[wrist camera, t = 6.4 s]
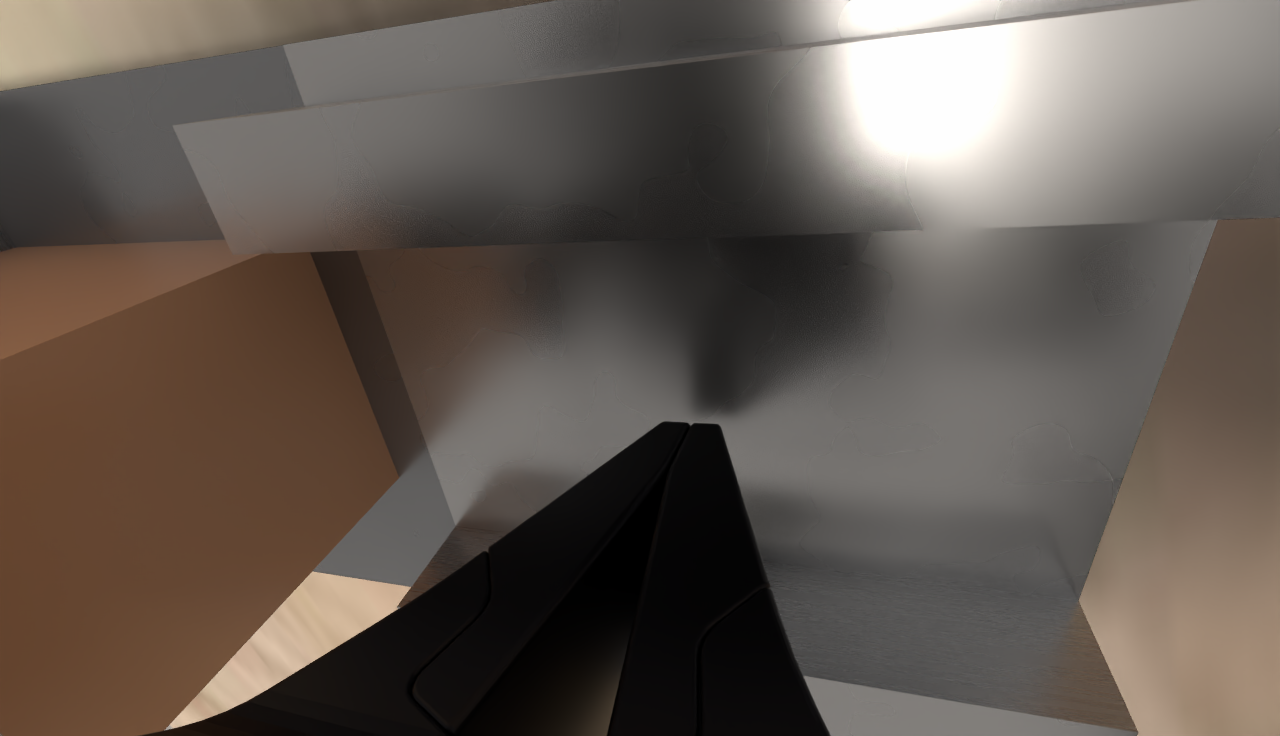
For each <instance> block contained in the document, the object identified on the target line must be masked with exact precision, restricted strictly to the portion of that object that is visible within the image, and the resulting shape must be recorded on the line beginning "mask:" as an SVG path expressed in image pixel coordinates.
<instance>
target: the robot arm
mask: <svg viewBox="0 0 1280 736" xmlns="http://www.w3.org/2000/svg"><path fill="white" fill-rule="evenodd" d="M138 736H831V735H830V733H829V731H828V729H827V727H826V725H825V723H824V721H823V719H822V716H821V714H820V712H819V710H818V708H817V706H816V704H815V702H814V699H813V697H812V695H811V693H810V690H809V688H808V686H807V683H806V681H805V679H804V677H803V674H802V672H801V670H800V667H799V665H798V663H797V661H796V658H795V656H794V653H793V650H792V647H791V645H790V642H789V639H788V636H787V633H786V631H785V628H784V625H783V622H782V619H781V617H780V614H779V610H778V607H777V604H776V601H775V598H774V594H773V591H772V590H771V586H770V583H769V579H768V576H767V573H766V570H765V567H764V563H763V560H762V557H761V554H760V550H759V547H758V544H757V541H756V538H755V534H754V531H753V528H752V525H751V522H750V518H749V515H748V512H747V509H746V506H745V502H744V499H743V496H742V493H741V489H740V486H739V483H738V480H737V477H736V473H735V470H734V467H733V464H732V461H731V457H730V454H729V451H728V448H727V445H726V441H725V438H724V435H723V432H722V429H721V427H720V425H718V424H710V423H693V424H692V425H691V426H690V424H689V423H687V422H671V421H664V422H661V423H659V424H658V425H657V426H655V427H654V428H653V429H651V430H650V431H648V432H647V433H646V434H644V435H643V436H641V437H640V438H639V439H637V440H636V441H635V442H633V443H632V444H630V445H629V446H628V447H626V448H625V449H624V450H622V451H621V452H619V453H618V454H617V455H615V456H614V457H612V458H611V459H610V460H608V461H607V462H606V463H604V464H603V465H601V466H600V467H599V468H597V469H596V470H595V471H593V472H592V473H590V474H589V475H588V476H586V477H585V478H583V479H582V480H581V481H579V482H578V483H577V484H575V485H574V486H572V487H571V488H570V489H568V490H567V491H565V492H564V493H563V494H561V495H560V496H559V497H557V498H556V499H554V500H553V501H552V502H550V503H549V504H548V505H546V506H545V507H543V508H542V509H541V510H539V511H538V512H536V513H535V514H534V515H532V516H531V517H530V518H528V519H527V520H525V521H524V522H523V523H521V524H520V525H519V526H517V527H516V528H514V529H513V530H512V531H510V532H509V533H507V534H506V535H505V536H503V537H502V538H501V539H499V540H498V541H496V542H495V543H494V544H492V545H491V546H490V547H489V548H488V552H487V551H482V552H481V553H480V554H478V555H477V556H475V557H474V558H473V559H471V560H470V561H468V562H467V563H466V564H464V565H463V566H462V567H460V568H459V569H457V570H456V571H454V572H453V573H452V574H450V575H449V576H447V577H446V578H444V579H443V580H441V581H440V582H439V583H437V584H436V585H434V586H433V587H431V588H430V589H428V590H427V591H426V592H424V593H423V594H421V595H419V596H418V597H416V598H415V599H413V600H412V601H410V602H409V603H407V604H405V605H404V606H402V607H401V608H399V609H398V610H396V611H394V612H393V613H391V614H390V615H388V616H387V617H385V618H383V619H382V620H380V621H379V622H377V623H375V624H374V625H372V626H371V627H369V628H367V629H366V630H364V631H362V632H361V633H359V634H358V635H356V636H354V637H353V638H351V639H349V640H348V641H346V642H344V643H343V644H341V645H340V646H338V647H336V648H335V649H333V650H331V651H330V652H328V653H327V654H325V655H323V656H322V657H320V658H318V659H317V660H315V661H313V662H312V663H310V664H309V665H307V666H305V667H304V668H302V669H300V670H299V671H297V672H296V673H294V674H292V675H291V676H289V677H287V678H286V679H284V680H283V681H281V682H279V683H278V684H276V685H274V686H273V687H271V688H269V689H268V690H266V691H264V692H263V693H261V694H259V695H257V696H255V697H254V698H252V699H250V700H248V701H247V702H244V703H242V704H240V705H238V706H236V707H234V708H232V709H230V710H228V711H226V712H223V713H221V714H218V715H215V716H213V717H210V718H207V719H205V720H202V721H199V722H195V723H192V724H189V725H185V726H182V727H178V728H174V729H169V730H165V731H160V732H154V733H149V734H144V735H138Z"/></svg>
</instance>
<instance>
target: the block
mask: <svg viewBox="0 0 1280 736" xmlns="http://www.w3.org/2000/svg"><path fill="white" fill-rule="evenodd" d="M398 479H399V476H398V474H397V471H396V469H395V466H394V463H393V461H392V458H391V456H390V453H389V451H388V448H387V446H386V443H385V441H384V438H383V436H382V433H381V431H380V428H379V425H378V423H377V420H376V418H375V415H374V413H373V410H372V408H371V405H370V403H369V400H368V398H367V395H366V393H365V390H364V387H363V385H362V382H361V380H360V377H359V375H358V372H357V370H356V367H355V365H354V362H353V360H352V357H351V355H350V352H349V349H348V347H347V344H346V342H345V339H344V337H343V334H342V332H341V329H340V327H339V324H338V322H337V319H336V317H335V314H334V311H333V309H332V306H331V304H330V301H329V299H328V296H327V294H326V291H325V289H324V286H323V284H322V281H321V279H320V276H319V274H318V271H317V268H316V266H315V263H314V261H313V258H312V256H311V253H310V252H296V253H268V254H240V255H232V252H231V250H230V248H229V246H228V244H227V242H226V240H201V241H174V242H147V243H121V244H94V245H67V246H41V247H17V248H13V249H9V250H6V251H2V252H0V736H138V735H144V734H149V733H154V732H160V731H164V730H165V729H166V727H168V726H169V725H170V723H171V722H172V721H173V720H174V719H175V718H176V717H177V716H178V715H179V714H180V713H181V712H182V711H183V710H184V708H185V707H186V706H187V705H188V704H189V703H190V702H191V701H192V700H193V699H194V698H195V697H196V696H197V694H198V693H199V692H200V691H201V690H202V689H203V688H204V687H205V686H206V685H207V684H208V683H209V682H210V681H211V679H212V678H213V677H214V676H215V675H216V674H217V673H218V672H219V671H220V670H221V669H222V668H223V667H224V665H225V664H226V663H227V662H228V661H229V660H230V659H231V658H232V657H233V656H234V655H235V654H236V653H237V651H238V650H239V649H240V648H241V647H242V646H243V645H244V644H245V643H246V642H247V641H248V640H249V639H250V638H251V636H252V635H253V634H254V633H255V632H256V631H257V630H258V629H259V628H260V627H261V626H262V625H263V624H264V622H265V621H266V620H267V619H268V618H269V617H270V616H271V615H272V614H273V613H274V612H275V611H276V610H277V609H278V607H279V606H280V605H281V604H282V603H283V602H284V601H285V600H286V599H287V598H288V597H289V596H290V595H291V593H292V592H293V591H294V590H295V589H296V588H297V587H298V586H299V585H300V584H301V583H302V582H303V581H304V580H305V578H306V577H307V576H308V575H309V574H310V573H311V572H312V571H313V570H314V569H315V568H316V567H317V566H318V564H319V563H320V562H321V561H322V560H323V559H324V558H325V557H326V556H327V555H328V554H329V553H330V552H331V551H332V549H333V548H334V547H335V546H336V545H337V544H338V543H339V542H340V541H341V540H342V539H343V538H344V537H345V535H346V534H347V533H348V532H349V531H350V530H351V529H352V528H353V527H354V526H355V525H356V524H357V523H358V521H359V520H360V519H361V518H362V517H363V516H364V515H365V514H366V513H367V512H368V511H369V510H370V509H371V508H372V506H373V505H374V504H375V503H376V502H377V501H378V500H379V499H380V498H381V497H382V496H383V495H384V494H385V492H386V491H387V490H388V489H389V488H390V487H391V486H392V485H393V484H394V483H395V482H396V481H397V480H398Z"/></svg>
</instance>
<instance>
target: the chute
mask: <svg viewBox="0 0 1280 736" xmlns="http://www.w3.org/2000/svg"><path fill="white" fill-rule="evenodd" d="M1253 218H1280V0H555V1H549V2H543V3H537V4H531V5H525V6H518V7H512V8H506V9H500V10H494V11H488V12H482V13H476V14H469V15H463V16H457V17H451V18H445V19H439V20H433V21H427V22H420V23H414V24H408V25H402V26H396V27H390V28H384V29H378V30H371V31H365V32H359V33H353V34H347V35H341V36H335V37H329V38H322V39H316V40H310V41H304V42H298V43H292V44H286V45H282V46H276V47H270V48H263V49H257V50H251V51H245V52H239V53H233V54H227V55H221V56H214V57H208V58H202V59H196V60H190V61H184V62H178V63H171V64H165V65H159V66H153V67H147V68H141V69H135V70H129V71H122V72H116V73H110V74H104V75H98V76H92V77H86V78H79V79H73V80H67V81H61V82H55V83H49V84H43V85H37V86H30V87H24V88H18V89H12V90H6V91H0V252H2V251H6V250H9V249H13V248H17V247H41V246H67V245H94V244H121V243H147V242H174V241H201V240H226V242H227V244H228V246H229V248H230V250H231V252H232V255H240V254H268V253H296V252H310V253H311V256H312V258H313V261H314V263H315V266H316V268H317V271H318V274H319V276H320V279H321V281H322V284H323V286H324V289H325V291H326V294H327V296H328V299H329V301H330V304H331V306H332V309H333V311H334V314H335V317H336V319H337V322H338V324H339V327H340V329H341V332H342V334H343V337H344V339H345V342H346V344H347V347H348V349H349V352H350V355H351V357H352V360H353V362H354V365H355V367H356V370H357V372H358V375H359V377H360V380H361V382H362V385H363V387H364V390H365V393H366V395H367V398H368V400H369V403H370V405H371V408H372V410H373V413H374V415H375V418H376V420H377V423H378V425H379V428H380V431H381V433H382V436H383V438H384V441H385V443H386V446H387V448H388V451H389V453H390V456H391V458H392V461H393V463H394V466H395V469H396V471H397V474H398V476H399V479H398V480H397V481H396V482H395V483H394V484H393V485H392V486H391V487H390V488H389V489H388V490H387V491H386V492H385V494H384V495H383V496H382V497H381V498H380V499H379V500H378V501H377V502H376V503H375V504H374V505H373V506H372V508H371V509H370V510H369V511H368V512H367V513H366V514H365V515H364V516H363V517H362V518H361V519H360V520H359V521H358V523H357V524H356V525H355V526H354V527H353V528H352V529H351V530H350V531H349V532H348V533H347V534H346V535H345V537H344V538H343V539H342V540H341V541H340V542H339V543H338V544H337V545H336V546H335V547H334V548H333V549H332V551H331V552H330V553H329V554H328V555H327V556H326V557H325V558H324V559H323V560H322V561H321V562H320V563H319V564H318V566H317V567H316V568H315V569H314V570H313V571H314V572H320V573H326V574H333V575H339V576H345V577H352V578H358V579H365V580H371V581H377V582H384V583H390V584H396V585H403V586H409V587H411V588H410V590H409V591H408V592H407V594H406V595H405V597H404V598H403V599H402V601H401V602H400V603H399V605H398V606H397V608H398V609H399V608H401V607H402V606H404V605H405V604H407V603H409V602H410V601H412V600H413V599H415V598H416V597H418V596H419V595H421V594H423V593H424V592H426V591H427V590H428V589H430V588H431V587H433V586H434V585H436V584H437V583H439V582H440V581H441V580H443V579H444V578H446V577H447V576H449V575H450V574H452V573H453V572H454V571H456V570H457V569H459V568H460V567H462V566H463V565H464V564H466V563H467V562H468V561H470V560H471V559H473V558H474V557H475V556H477V555H478V554H480V553H481V552H482V551H487V552H488V548H489V547H490V546H491V545H492V544H494V543H495V542H496V541H498V540H499V539H501V538H502V537H503V536H505V535H506V534H507V533H509V532H510V531H512V530H513V529H514V528H516V527H517V526H519V525H520V524H521V523H523V522H524V521H525V520H527V519H528V518H530V517H531V516H532V515H534V514H535V513H536V512H538V511H539V510H541V509H542V508H543V507H545V506H546V505H548V504H549V503H550V502H552V501H553V500H554V499H556V498H557V497H559V496H560V495H561V494H563V493H564V492H565V491H567V490H568V489H570V488H571V487H572V486H574V485H575V484H577V483H578V482H579V481H581V480H582V479H583V478H585V477H586V476H588V475H589V474H590V473H592V472H593V471H595V470H596V469H597V468H599V467H600V466H601V465H603V464H604V463H606V462H607V461H608V460H610V459H611V458H612V457H614V456H615V455H617V454H618V453H619V452H621V451H622V450H624V449H625V448H626V447H628V446H629V445H630V444H632V443H633V442H635V441H636V440H637V439H639V438H640V437H641V436H643V435H644V434H646V433H647V432H648V431H650V430H651V429H653V428H654V427H655V426H657V425H658V424H659V423H661V422H664V421H671V422H687V423H689V424H690V426H691V425H692V424H693V423H710V424H718V425H720V427H721V429H722V432H723V435H724V438H725V441H726V445H727V448H728V451H729V454H730V457H731V461H732V464H733V467H734V470H735V473H736V477H737V480H738V483H739V486H740V489H741V493H742V496H743V499H744V502H745V506H746V509H747V512H748V515H749V518H750V522H751V525H752V528H753V531H754V534H755V538H756V541H757V544H758V547H759V550H760V554H761V557H762V560H763V563H764V567H765V570H766V573H767V576H768V579H769V583H770V586H771V590H772V591H773V594H774V598H775V601H776V604H777V607H778V610H779V614H780V617H781V619H782V622H783V625H784V628H785V631H786V633H787V636H788V639H789V642H790V645H791V647H792V650H793V653H794V656H795V658H796V661H797V663H798V665H799V667H800V670H801V672H802V674H803V677H804V679H805V681H806V683H807V686H808V688H809V690H810V693H811V695H812V697H813V699H814V702H815V704H816V706H817V708H818V710H819V712H820V714H821V716H822V719H823V721H824V723H825V725H826V727H827V729H828V731H829V733H830V735H831V736H1137V735H1138V731H1137V728H1136V726H1135V724H1134V722H1133V720H1132V717H1131V715H1130V713H1129V711H1128V709H1127V706H1126V704H1125V702H1124V700H1123V698H1122V695H1121V693H1120V691H1119V689H1118V687H1117V684H1116V682H1115V680H1114V678H1113V676H1112V673H1111V671H1110V669H1109V667H1108V665H1107V663H1106V660H1105V658H1104V656H1103V654H1102V652H1101V649H1100V647H1099V645H1098V643H1097V641H1096V638H1095V636H1094V634H1093V632H1092V630H1091V627H1090V625H1089V623H1088V621H1087V619H1086V616H1085V614H1084V612H1083V610H1082V608H1081V605H1080V603H1079V601H1078V600H1079V597H1080V595H1081V592H1082V589H1083V586H1084V584H1085V581H1086V578H1087V575H1088V573H1089V570H1090V567H1091V565H1092V562H1093V559H1094V556H1095V554H1096V551H1097V548H1098V545H1099V543H1100V540H1101V537H1102V535H1103V532H1104V529H1105V526H1106V524H1107V521H1108V518H1109V515H1110V513H1111V510H1112V507H1113V504H1114V502H1115V499H1116V496H1117V494H1118V491H1119V488H1120V485H1121V483H1122V480H1123V477H1124V474H1125V472H1126V469H1127V466H1128V464H1129V461H1130V458H1131V455H1132V453H1133V450H1134V447H1135V444H1136V442H1137V439H1138V436H1139V433H1140V431H1141V428H1142V425H1143V423H1144V420H1145V417H1146V414H1147V412H1148V409H1149V406H1150V403H1151V401H1152V398H1153V395H1154V393H1155V390H1156V387H1157V384H1158V382H1159V379H1160V376H1161V373H1162V371H1163V368H1164V365H1165V363H1166V360H1167V357H1168V354H1169V352H1170V349H1171V346H1172V343H1173V341H1174V338H1175V335H1176V332H1177V330H1178V327H1179V324H1180V322H1181V319H1182V316H1183V313H1184V311H1185V308H1186V305H1187V302H1188V300H1189V297H1190V294H1191V292H1192V289H1193V286H1194V283H1195V281H1196V278H1197V275H1198V272H1199V270H1200V267H1201V264H1202V262H1203V259H1204V256H1205V253H1206V251H1207V248H1208V245H1209V242H1210V240H1211V237H1212V234H1213V231H1214V229H1215V226H1216V223H1217V221H1218V220H1225V219H1253Z"/></svg>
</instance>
